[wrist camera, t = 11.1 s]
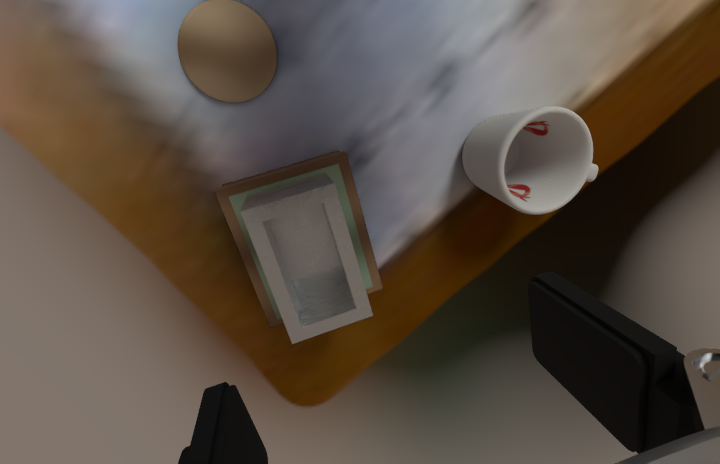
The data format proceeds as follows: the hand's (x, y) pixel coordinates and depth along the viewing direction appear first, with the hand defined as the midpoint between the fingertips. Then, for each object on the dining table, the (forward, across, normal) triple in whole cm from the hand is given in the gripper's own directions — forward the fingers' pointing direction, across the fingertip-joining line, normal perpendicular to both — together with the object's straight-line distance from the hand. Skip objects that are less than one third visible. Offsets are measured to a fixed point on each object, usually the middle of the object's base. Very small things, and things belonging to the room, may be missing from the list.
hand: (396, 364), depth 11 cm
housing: (+19, +2, +2) cm, 19 cm away
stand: (+23, +2, +3) cm, 23 cm away
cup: (+23, -18, +1) cm, 29 cm away
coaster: (+23, +3, -12) cm, 26 cm away
